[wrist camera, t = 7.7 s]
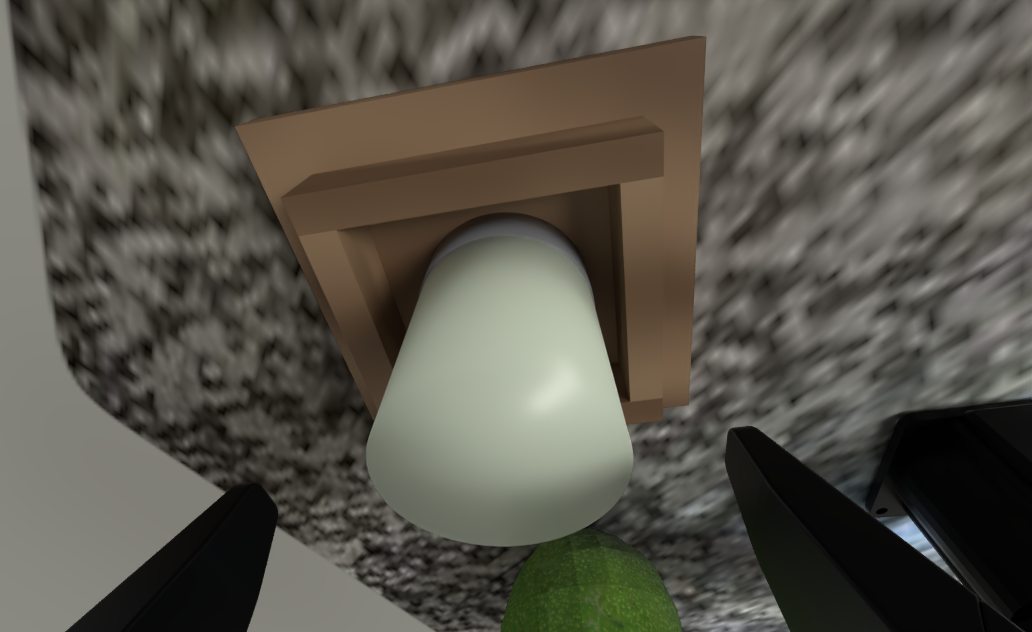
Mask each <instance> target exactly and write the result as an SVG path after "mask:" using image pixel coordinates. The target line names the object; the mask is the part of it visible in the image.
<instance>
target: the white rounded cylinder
mask: <svg viewBox="0 0 1032 632" xmlns="http://www.w3.org/2000/svg"><path fill="white" fill-rule="evenodd" d="M633 458H634V457H633V450H632V444H631V440H630V437H629V433H628V429H627V425H626V422H625V418H624V414H623V411H622V407H621V403H620V399H619V396H618V392H617V388H616V384H615V381H614V377H613V373H612V369H611V366H610V362H609V358H608V355H607V351H606V347H605V343H604V340H603V336H602V332H601V328H600V325H599V321H598V317H597V313H596V310H595V302H594V296H593V292H592V288H591V284H590V281H589V277H588V273H587V270H586V267H585V263H584V260H583V258H582V256H581V254H580V252H579V250H578V249H577V247H576V246H575V245H574V243H573V242H572V241H571V240H570V239H569V238H568V236H567V235H566V234H564V233H563V232H562V231H561V230H559V229H558V228H557V227H555V226H554V225H552V224H550V223H549V222H547V221H544V220H542V219H540V218H538V217H534V216H531V215H527V214H522V213H516V212H499V213H490V214H486V215H482V216H479V217H476V218H473V219H470V220H468V221H467V222H465V223H463V224H461V225H459V226H458V227H457V228H455V229H454V230H452V231H451V232H450V233H449V234H448V235H447V236H446V237H445V238H444V239H443V240H442V242H441V243H440V244H439V245H438V247H437V249H436V250H435V252H434V254H433V256H432V259H431V261H430V264H429V266H428V269H427V272H426V275H425V277H424V280H423V283H422V285H421V288H420V292H419V297H418V302H417V305H416V307H415V310H414V313H413V316H412V319H411V321H410V324H409V327H408V330H407V332H406V335H405V338H404V341H403V344H402V346H401V349H400V352H399V355H398V357H397V360H396V363H395V366H394V369H393V371H392V374H391V377H390V380H389V382H388V385H387V388H386V391H385V393H384V396H383V399H382V402H381V405H380V407H379V410H378V413H377V416H376V418H375V421H374V424H373V427H372V430H371V432H370V435H369V438H368V442H367V448H366V464H367V468H368V473H369V476H370V478H371V481H372V483H373V485H374V487H375V488H376V490H377V492H378V493H379V495H380V496H381V497H382V498H383V500H384V501H385V502H386V503H387V504H388V505H389V506H390V507H391V508H392V509H393V510H394V511H395V512H397V513H398V514H399V515H400V516H402V517H403V518H405V519H406V520H408V521H409V522H411V523H413V524H414V525H416V526H418V527H420V528H422V529H424V530H426V531H428V532H431V533H433V534H435V535H438V536H441V537H444V538H447V539H451V540H455V541H459V542H463V543H469V544H475V545H484V546H504V547H507V546H523V545H531V544H537V543H542V542H547V541H551V540H555V539H558V538H561V537H564V536H567V535H569V534H572V533H574V532H577V531H579V530H581V529H583V528H585V527H587V526H589V525H590V524H592V523H593V522H595V521H596V520H598V519H599V518H601V517H602V516H603V515H604V514H606V513H607V512H608V511H609V510H610V509H611V508H612V507H613V506H614V505H615V504H616V503H617V502H618V501H619V499H620V498H621V496H622V495H623V493H624V492H625V490H626V488H627V486H628V483H629V481H630V478H631V474H632V470H633Z"/></svg>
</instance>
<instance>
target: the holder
mask: <svg viewBox="0 0 1032 632" xmlns="http://www.w3.org/2000/svg"><path fill="white" fill-rule="evenodd" d="M705 53H706V37H703V36H688V37H683V38H678V39H673V40H667V41H662V42H657V43H652V44H647V45H641V46H636V47H631V48H626V49H620V50H615V51H610V52H605V53H599V54H594V55H589V56H584V57H579V58H573V59H568V60H563V61H558V62H552V63H547V64H542V65H537V66H532V67H526V68H521V69H516V70H511V71H505V72H500V73H495V74H490V75H485V76H479V77H474V78H469V79H464V80H458V81H453V82H448V83H443V84H438V85H432V86H427V87H422V88H417V89H411V90H406V91H401V92H396V93H391V94H385V95H380V96H375V97H370V98H364V99H359V100H354V101H349V102H344V103H338V104H333V105H328V106H323V107H317V108H312V109H307V110H302V111H297V112H291V113H286V114H281V115H276V116H270V117H265V118H260V119H255V120H251V121H249V122H246V123H243V124H241V125H238V126H235V128H236V130H237V132H238V134H239V137H240V139H241V141H242V143H243V145H244V147H245V149H246V151H247V154H248V156H249V158H250V160H251V162H252V164H253V166H254V168H255V171H256V173H257V175H258V177H259V179H260V181H261V183H262V185H263V188H264V190H265V192H266V194H267V196H268V198H269V200H270V202H271V204H272V207H273V209H274V211H275V213H276V215H277V217H278V219H279V221H280V224H281V226H282V228H283V230H284V232H285V234H286V236H287V238H288V241H289V243H290V245H291V247H292V249H293V251H294V253H295V255H296V257H297V260H298V262H299V264H300V266H301V268H302V270H303V272H304V274H305V277H306V279H307V281H308V283H309V285H310V287H311V289H312V291H313V294H314V296H315V298H316V300H317V302H318V304H319V306H320V308H321V310H322V313H323V315H324V317H325V319H326V321H327V323H328V325H329V327H330V330H331V332H332V334H333V336H334V338H335V340H336V342H337V344H338V347H339V349H340V351H341V353H342V355H343V357H344V359H345V361H346V364H347V366H348V368H349V370H350V372H351V374H352V376H353V378H354V380H355V383H356V385H357V387H358V389H359V391H360V393H361V395H362V397H363V400H364V402H365V404H366V406H367V408H368V410H369V412H370V414H371V417H372V419H373V421H375V418H376V416H377V413H378V410H379V407H380V405H381V402H382V399H383V396H384V393H385V391H386V388H387V385H388V382H389V380H390V377H391V374H392V371H393V369H394V366H395V363H396V360H397V357H398V355H399V352H400V349H401V346H402V344H403V341H404V338H405V335H406V332H407V330H408V327H409V324H410V321H411V319H412V316H413V313H414V310H415V307H416V305H417V302H418V297H419V292H420V288H421V285H422V283H423V280H424V277H425V275H426V272H427V269H428V266H429V264H430V261H431V259H432V256H433V254H434V252H435V250H436V249H437V247H438V245H439V244H440V243H441V242H442V240H443V239H444V238H445V237H446V236H447V235H448V234H449V233H450V232H451V231H452V230H454V229H455V228H457V227H458V226H459V225H461V224H463V223H465V222H467V221H468V220H470V219H473V218H476V217H479V216H482V215H486V214H490V213H499V212H516V213H522V214H527V215H531V216H534V217H538V218H540V219H542V220H544V221H547V222H549V223H550V224H552V225H554V226H555V227H557V228H558V229H559V230H561V231H562V232H563V233H564V234H566V235H567V236H568V238H569V239H570V240H571V241H572V242H573V243H574V245H575V246H576V247H577V249H578V250H579V252H580V254H581V256H582V258H583V260H584V263H585V267H586V270H587V273H588V277H589V281H590V284H591V288H592V292H593V296H594V302H595V310H596V313H597V317H598V321H599V325H600V328H601V332H602V336H603V340H604V343H605V347H606V351H607V355H608V358H609V362H610V366H611V369H612V373H613V377H614V381H615V384H616V388H617V392H618V396H619V399H620V403H621V407H622V411H623V414H624V418H625V422H626V425H628V424H637V423H646V422H654V421H662V408H668V407H677V406H685V405H689V387H690V366H691V345H692V325H693V304H694V283H695V262H696V241H697V220H698V199H699V178H700V158H701V137H702V116H703V95H704V74H705Z"/></svg>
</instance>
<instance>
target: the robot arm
mask: <svg viewBox="0 0 1032 632" xmlns="http://www.w3.org/2000/svg"><path fill="white" fill-rule="evenodd" d="M725 465H726V470H727V473H728V476H729V479H730V482H731V485H732V488H733V491H734V494H735V497H736V500H737V503H738V506H739V509H740V512H741V514H742V517H743V520H744V523H745V526H746V529H747V532H748V535H749V538H750V541H751V544H752V547H753V549H754V552H755V555H756V557H757V560H758V562H759V564H760V567H761V569H762V571H763V573H764V575H765V578H766V580H767V582H768V584H769V586H770V589H771V591H772V593H773V595H774V597H775V599H776V602H777V604H778V606H779V608H780V610H781V612H782V615H783V617H784V619H785V621H786V623H787V625H788V628H789V630H790V632H1032V400H1027V401H1018V402H1009V403H1000V404H991V405H982V406H973V407H964V408H955V409H946V410H937V411H928V412H919V413H912V414H908V415H906V416H904V417H902V418H901V419H900V420H899V421H898V423H897V425H896V427H895V430H894V433H893V435H892V438H891V440H890V443H889V445H888V448H887V450H886V453H885V455H884V458H883V460H882V463H881V465H880V468H879V470H878V473H877V476H876V478H875V481H874V483H873V486H872V488H871V491H870V493H869V496H868V498H867V501H866V503H865V508H866V509H867V511H868V512H869V513H870V514H869V513H868V512H866V511H865V510H864V509H862V508H861V507H860V506H858V505H857V504H856V503H855V502H853V501H852V500H851V499H849V498H848V497H847V496H845V495H844V494H843V493H841V492H840V491H839V490H837V489H836V488H835V487H833V486H832V485H831V484H830V483H828V482H827V481H826V480H824V479H823V478H822V477H820V476H819V475H818V474H816V473H815V472H814V471H812V470H811V469H810V468H809V467H807V466H806V465H805V464H803V463H802V462H801V461H799V460H798V459H797V458H795V457H794V456H793V455H791V454H790V453H789V452H787V451H786V450H785V449H784V448H782V447H781V446H780V445H778V444H777V443H776V442H774V441H773V440H772V439H770V438H769V437H768V436H766V435H765V434H764V433H763V432H761V431H760V430H759V429H757V428H755V427H753V426H745V427H736V428H731V429H730V430H729V431H728V435H727V444H726V453H725ZM902 515H908V516H909V517H910V518H911V520H912V521H913V522H914V523H915V525H916V526H917V527H918V528H919V530H920V531H921V532H922V534H923V535H924V536H925V537H926V539H927V540H928V541H929V542H930V544H931V545H932V546H933V547H934V549H935V550H936V551H937V553H938V554H939V555H940V556H941V558H942V559H943V560H944V561H945V563H946V564H947V565H948V566H949V568H950V569H951V570H952V572H953V573H954V574H955V575H956V577H957V578H958V579H959V580H960V582H961V583H962V584H963V585H962V584H961V583H960V582H958V581H957V580H956V579H954V578H953V577H952V576H950V575H949V574H948V573H946V572H945V571H944V570H943V569H941V568H940V567H939V566H937V565H936V564H935V563H933V562H932V561H931V560H929V559H928V558H927V557H925V556H924V555H923V554H922V553H920V552H919V551H918V550H916V549H915V548H914V547H912V546H911V545H910V544H908V543H907V542H906V541H904V540H903V539H902V538H900V537H899V536H898V535H897V534H895V533H894V532H893V531H891V530H890V529H889V528H887V527H886V526H885V525H883V524H882V523H881V522H879V521H878V520H877V519H876V518H874V517H877V518H880V517H891V516H902ZM277 520H278V509H277V506H276V504H275V503H274V502H273V500H272V499H271V498H270V496H269V495H268V494H267V492H266V491H265V489H264V488H263V487H262V486H261V485H260V484H259V483H257V482H252V483H243V484H238V485H235V486H233V487H232V488H231V489H230V490H228V491H227V492H226V493H225V494H224V495H223V496H222V497H220V498H219V499H218V500H217V501H216V502H215V503H214V504H212V505H211V506H210V507H209V508H208V509H207V510H205V511H204V512H203V513H202V514H201V515H200V516H198V517H197V518H196V519H195V520H194V521H193V522H191V523H190V524H189V525H188V526H187V527H186V528H185V529H183V530H182V531H181V532H180V533H179V534H178V535H176V536H175V537H174V538H173V539H172V540H171V541H170V542H169V543H167V544H166V545H165V546H164V547H163V548H162V549H161V550H159V551H158V552H157V553H156V554H155V555H154V556H152V557H151V558H150V559H149V560H148V561H146V562H145V563H144V564H143V565H142V566H141V567H139V568H138V569H137V570H136V571H135V572H134V573H133V574H131V575H130V576H129V577H128V578H127V579H126V580H125V581H123V582H122V583H121V584H120V585H119V586H118V587H116V588H115V589H114V590H113V591H112V592H111V593H110V594H108V595H107V596H106V597H105V598H104V599H102V600H101V601H100V602H99V603H98V604H97V605H96V606H95V607H93V608H92V609H91V610H90V611H89V612H87V613H86V614H85V615H84V616H83V617H82V618H81V619H79V620H78V621H77V622H76V623H75V624H74V625H73V626H71V627H70V628H69V629H68V630H67V631H65V632H247V629H248V626H249V624H250V621H251V618H252V615H253V612H254V609H255V606H256V603H257V600H258V596H259V592H260V588H261V585H262V581H263V577H264V573H265V568H266V565H267V561H268V557H269V553H270V549H271V544H272V540H273V536H274V532H275V528H276V524H277Z"/></svg>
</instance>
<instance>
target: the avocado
mask: <svg viewBox="0 0 1032 632" xmlns="http://www.w3.org/2000/svg"><path fill="white" fill-rule="evenodd" d="M501 632H682V627H681V622H680V618H679V614H678V610H677V608H676V607H675V605H674V603H673V601H672V599H671V597H670V595H669V593H668V591H667V589H666V587H665V585H664V584H663V582H662V580H661V578H660V576H659V574H658V572H657V570H656V568H655V567H654V566H653V565H652V563H651V562H650V561H649V560H648V559H647V558H646V557H645V556H644V555H643V554H642V553H641V552H640V551H638V550H636V549H635V548H633V547H632V546H630V545H629V544H627V543H625V542H624V541H622V540H621V539H619V538H618V537H615V536H612V535H609V534H606V533H603V532H600V531H597V530H594V529H581V530H579V531H577V532H574V533H572V534H569V535H567V536H564V537H561V538H558V539H555V540H551V541H547V542H542V543H540V544H539V545H538V547H537V548H536V549H535V551H534V552H533V553H532V555H531V556H530V557H529V558H528V560H527V561H526V562H525V563H524V565H523V566H522V568H521V570H520V572H519V574H518V576H517V577H516V579H515V581H514V583H513V586H512V590H511V593H510V597H509V600H508V604H507V607H506V611H505V615H504V618H503V622H502V625H501Z"/></svg>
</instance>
